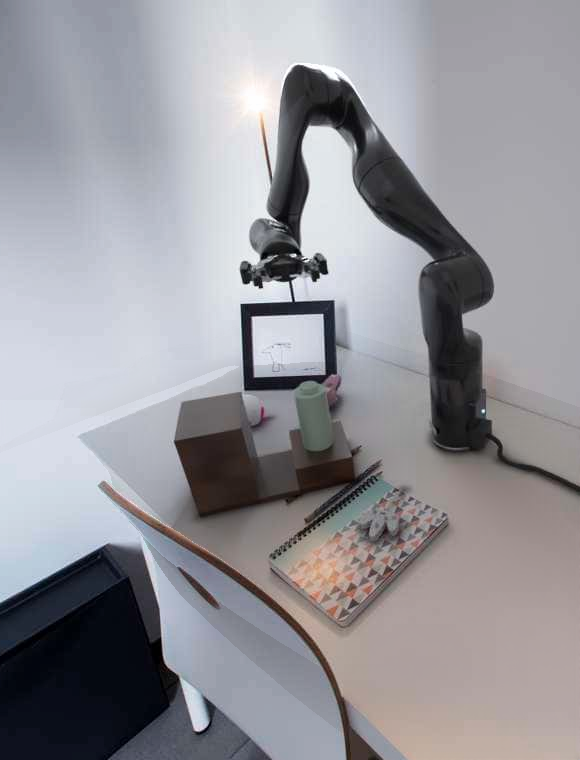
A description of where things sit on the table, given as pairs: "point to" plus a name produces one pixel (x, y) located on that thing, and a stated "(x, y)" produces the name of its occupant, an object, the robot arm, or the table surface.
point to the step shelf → (249, 458)
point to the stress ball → (253, 409)
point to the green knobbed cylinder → (313, 416)
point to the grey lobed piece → (380, 522)
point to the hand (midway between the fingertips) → (287, 279)
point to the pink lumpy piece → (332, 388)
